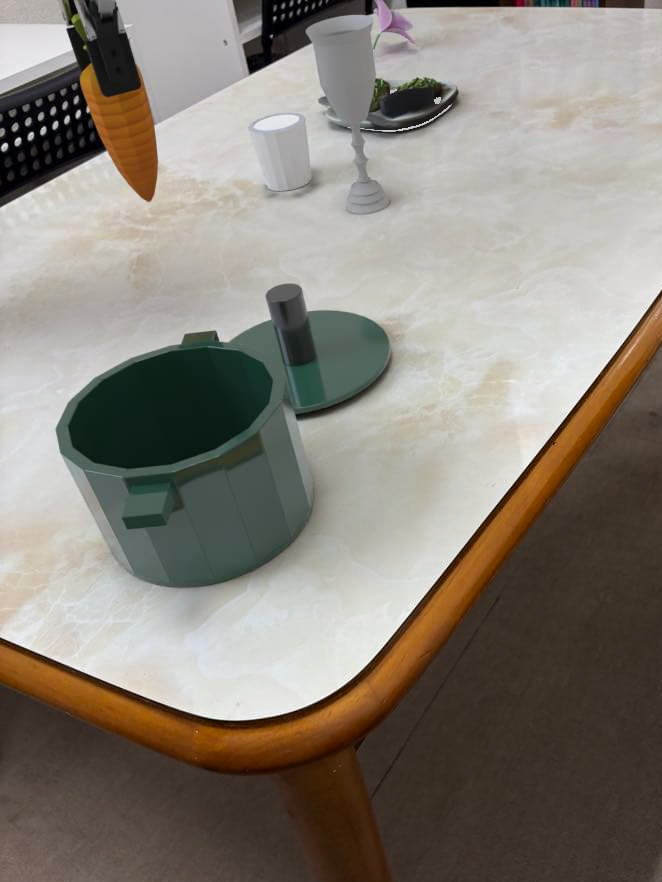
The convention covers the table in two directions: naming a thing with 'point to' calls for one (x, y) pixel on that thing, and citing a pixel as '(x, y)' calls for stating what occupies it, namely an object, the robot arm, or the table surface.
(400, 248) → the table surface
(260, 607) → the table surface
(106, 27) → the robot arm
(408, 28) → the lily
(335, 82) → the chalice
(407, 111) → the salad plate
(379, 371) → the lid
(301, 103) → the table surface
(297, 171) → the shot glass
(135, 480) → the pot
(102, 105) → the carrot
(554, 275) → the table surface
